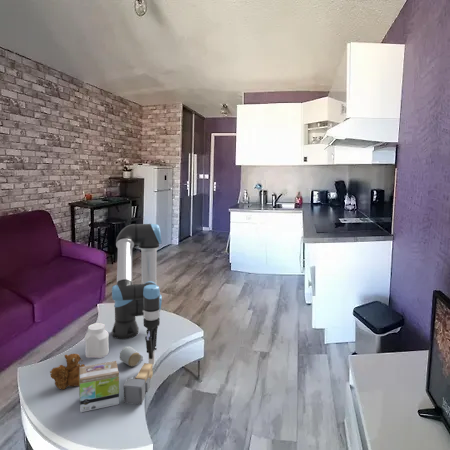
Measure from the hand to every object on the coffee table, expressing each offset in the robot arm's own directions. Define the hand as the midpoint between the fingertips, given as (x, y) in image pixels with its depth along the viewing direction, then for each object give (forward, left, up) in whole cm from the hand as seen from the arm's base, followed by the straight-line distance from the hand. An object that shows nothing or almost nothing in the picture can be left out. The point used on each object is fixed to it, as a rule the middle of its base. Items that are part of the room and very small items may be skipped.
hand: (151, 363), depth 170 cm
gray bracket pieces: (+20, 0, -3) cm, 20 cm away
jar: (-10, -32, -3) cm, 34 cm away
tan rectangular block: (+12, 0, -3) cm, 12 cm away
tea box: (+27, -14, -3) cm, 30 cm away
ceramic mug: (-4, -11, -3) cm, 12 cm away
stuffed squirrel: (+17, -33, -3) cm, 37 cm away
